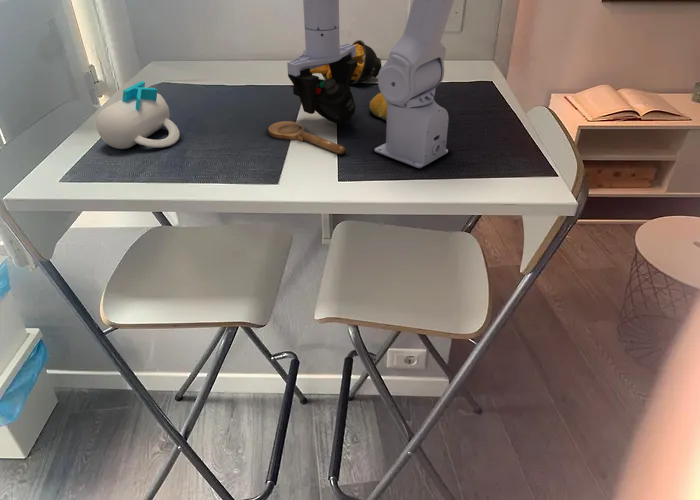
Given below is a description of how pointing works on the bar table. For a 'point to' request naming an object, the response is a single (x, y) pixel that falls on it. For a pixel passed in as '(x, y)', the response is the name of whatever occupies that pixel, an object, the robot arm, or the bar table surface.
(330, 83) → the controller
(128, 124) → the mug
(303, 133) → the spoon
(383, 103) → the bread roll
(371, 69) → the fried shrimp in bowl
